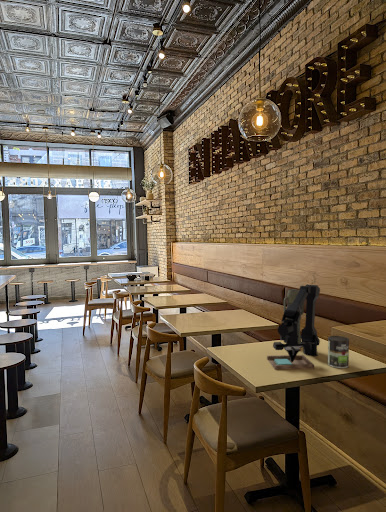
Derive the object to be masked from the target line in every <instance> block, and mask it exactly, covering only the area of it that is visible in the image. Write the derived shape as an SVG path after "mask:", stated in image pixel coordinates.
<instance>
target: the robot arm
mask: <svg viewBox="0 0 386 512" xmlns="http://www.w3.org/2000/svg"><path fill="white" fill-rule="evenodd" d="M298 290H299V292H298V294H297V296H296V298H295V299H294V301H293V303H292V304H291V305H289V306H288V307H287V306H286V310H285V312H284V311H283V315H282V318H281V321H280V323H281V324H280V325H279V326H277V332H278V334H279V339H280V341H274V342H273V344H272V348H274V350H275V351H283V350H284V351H285V352H287V353H288V354H287V355H289V357H290V360H291V362H293V361H294V359H295V357H296V355H298V354H299V352H301V348H302V349H303V355H306V356H312V357H317V356H319V354H318V346H319V345H320V343H321V339H320V338H319V336H318V331H317V329H316V327H315V321H316V319H315V317H316V301H317V299H318V298H319V296H320V293H321V287H319V285H317V284H305V285H300V286H299V289H298ZM305 301H306V308H305V324H304V327H303V328H301V329H300V335H301V342H300V344H298V338H299V336H298V323H299V318H300V316H301V317H302V315H301V307H302V305H303V303H304V304H305ZM286 318H287V319H286ZM290 319H292V320H290ZM281 341H283V342H281ZM288 345H289V346H288ZM291 347H292V349H291ZM300 347H301V348H300Z"/></svg>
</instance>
